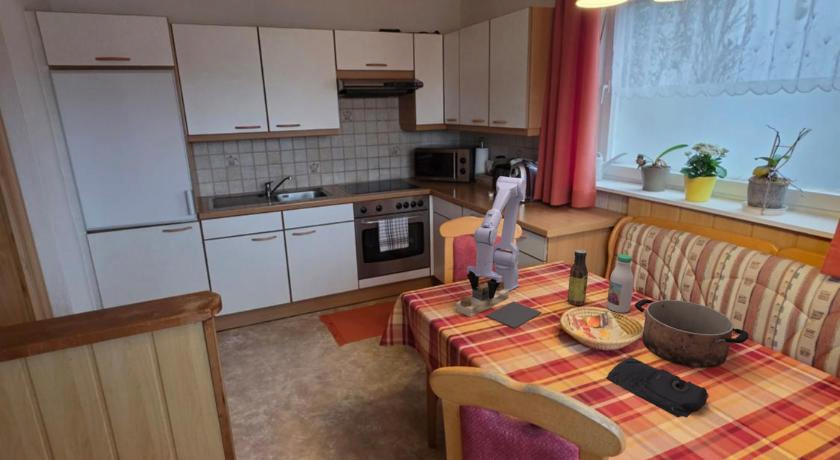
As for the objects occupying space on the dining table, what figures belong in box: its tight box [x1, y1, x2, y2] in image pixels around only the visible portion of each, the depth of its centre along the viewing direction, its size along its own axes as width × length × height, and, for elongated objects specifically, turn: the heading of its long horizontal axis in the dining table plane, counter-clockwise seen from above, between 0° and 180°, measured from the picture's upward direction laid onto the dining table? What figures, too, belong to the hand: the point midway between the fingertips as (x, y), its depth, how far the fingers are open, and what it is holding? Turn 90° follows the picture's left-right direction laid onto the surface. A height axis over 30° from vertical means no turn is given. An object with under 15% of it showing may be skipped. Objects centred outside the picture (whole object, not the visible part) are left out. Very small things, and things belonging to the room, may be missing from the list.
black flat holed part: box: [606, 357, 709, 419], centre depth 118 cm, size 15×22×5 cm
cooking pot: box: [634, 298, 749, 369], centre depth 136 cm, size 30×22×11 cm
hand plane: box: [455, 281, 510, 318], centre depth 166 cm, size 22×7×6 cm, turn 133°
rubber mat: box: [485, 301, 542, 330], centre depth 158 cm, size 16×12×1 cm
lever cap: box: [471, 282, 489, 301], centre depth 165 cm, size 7×4×4 cm, turn 133°
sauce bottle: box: [567, 249, 589, 306], centre depth 165 cm, size 6×6×20 cm
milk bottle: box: [606, 253, 634, 314], centre depth 160 cm, size 8×8×20 cm
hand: (483, 294), depth 165 cm, fingers open, 7 cm apart
